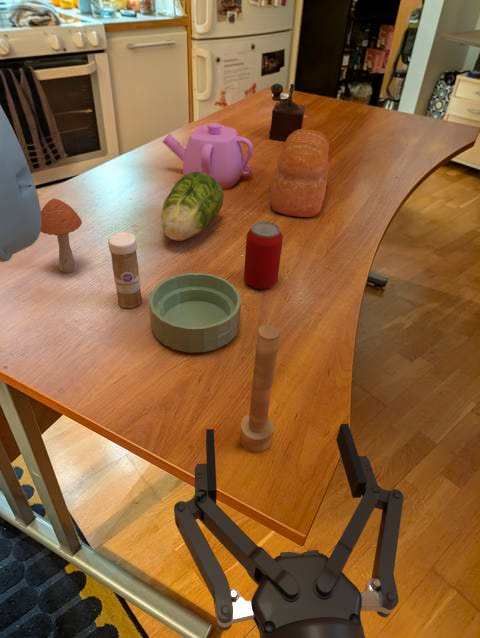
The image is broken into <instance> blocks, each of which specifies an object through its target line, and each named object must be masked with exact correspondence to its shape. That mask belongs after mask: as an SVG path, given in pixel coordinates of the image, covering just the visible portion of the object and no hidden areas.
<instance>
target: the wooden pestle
mask: <svg viewBox="0 0 480 638" xmlns="http://www.w3.org/2000/svg"><path fill="white" fill-rule="evenodd" d="M280 333H281V332H280V329H279V328H278V326H276V325H274V324H270V323H269V324H266V323H265V324H262V325H260V326H259V328H258V329H257V337H256V348H255V357H254V366H253V367H254V368H253V374H252V375H253V376H252V378H253V379H252V385H251V386H252V387H251V396H250V405H249V413H248V414H246V415H245V416H244V417H243V418H242V420H241V422H240V431H239V442H240V444H241V446H242V447H243V448H244V449H245V450H246V451H249V452H252V453H262V452H265V451H266V450H268V449H269V448H270V447H271V445H272V440H273V435H274V434H273V433H274V428H275V427H274V426H275V425H274V422H273V420H272V419H271V418H270V416H269V410H270V403H271V397H272V389H273V383H274V376H275V370H276V369H275V368H276V361H277V355H278V348H279V342H280Z"/></svg>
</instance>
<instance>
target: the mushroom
mask: <svg viewBox="0 0 480 638" xmlns="http://www.w3.org/2000/svg"><path fill="white" fill-rule="evenodd" d="M41 217H42V224H41V231H40V233H42V234H45V235H46V234H47V235H49V236H52V235H53V236H56V237H57V243H58V268H60V270H61V271H62V272H64V273H67V274H68V273H72V272H74V271H75V268H76V261H75V258H74V255H73V251H72V248H71V244H70V237H69V234H70V233H73V232H75V231H76V230H78V229H79V228H80V227H81V226H82V223H83V221H82V219H81V217H80V216H79V214H78V213H77V212H76V211H75V210H74V209H73V208H72V206H70V205H69V204H67V203H66V202H65V201H62V200H61V199H58V198H52V199H50V200H49V201H48V202H47V203H46V204H45V205H44V206H43V207H42V209H41Z"/></svg>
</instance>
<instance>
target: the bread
mask: <svg viewBox="0 0 480 638" xmlns="http://www.w3.org/2000/svg"><path fill="white" fill-rule="evenodd" d="M329 151H330V141H329V140H328V139H327V136H326V135H325V134H324V133H323V132H321V131H319V130H316V129H308V128H302V129H299V130H296V131H294V132H293V133H291V134H290V135H289V136H288V138H287V140H286V141H284V143H283V145H282V148H281V152H280V156H279V159H278V161H277V167H276V169H275V171H274V174H273V178H272V182H271V185H270V192H269V193H270V199H269V200H270V207H271V209H272V210H273V211H274V212H276V213H279V214H281V215H284V216H285V215H286V216H293V217H296V218H297V217H298V218H310V217H311V218H312V217H314V216H316V215H317V214H319V213H320V212H321V210H322V207H323V204H324V200H325V196H326V193H327V192H326V191H327V183H328V174H329V168H330V162H329Z"/></svg>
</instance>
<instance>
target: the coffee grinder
mask: <svg viewBox="0 0 480 638" xmlns="http://www.w3.org/2000/svg"><path fill="white" fill-rule="evenodd" d="M294 89H295V84H294V83H291V84H290V88H289V94H288V96H287V98H282V97H281V94H282V93H283V92H284V86H283V85H282V84H280V83H278V82H277V83H274V84H272V85H271V86H270V91H271V93H272V96H271V99H272V101H275V102H276V103H275V104H274V106H273V108H272V111H271V120H270V121H271V122H270V130H269V131H268V132H269V139H270V140H274V141H281V142H285V141H286V140H287V138H288V136H289V135H290V134H291V133H293V132H294V131H296V130H299V129H303V125H304V120H305V119H304V118H305V112H306V105H305V104H298V103H297V102H295V101H293V95H294V92H295V90H294Z"/></svg>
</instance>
